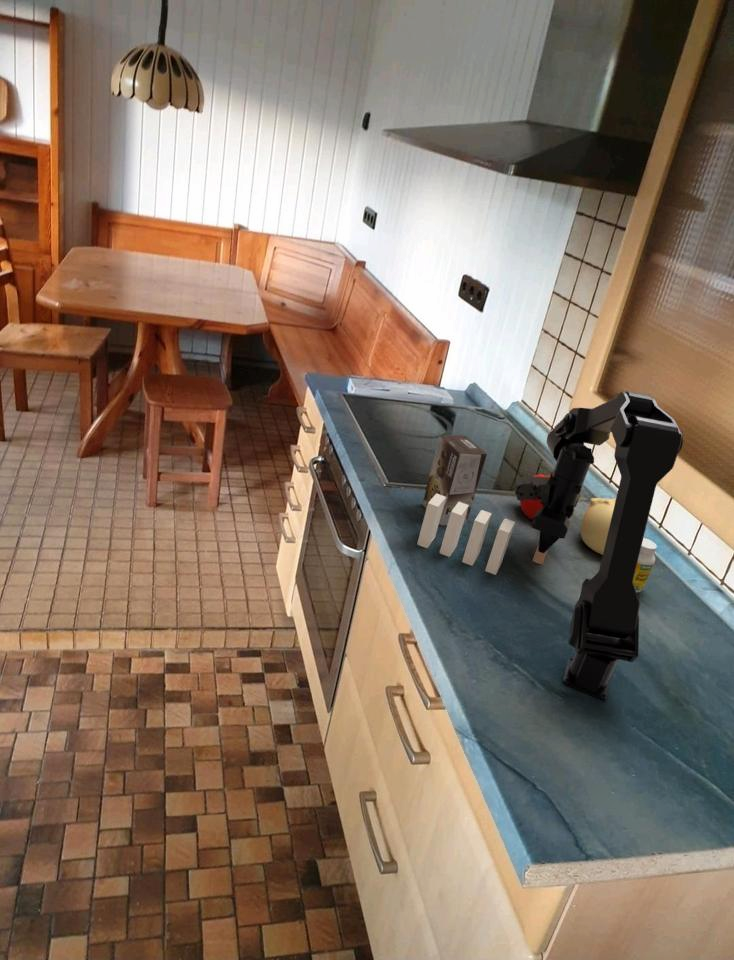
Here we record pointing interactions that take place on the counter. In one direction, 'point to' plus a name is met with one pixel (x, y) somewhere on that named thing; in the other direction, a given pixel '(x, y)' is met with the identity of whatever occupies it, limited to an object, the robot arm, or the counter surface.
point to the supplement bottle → (644, 564)
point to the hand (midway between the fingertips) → (543, 546)
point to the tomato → (532, 503)
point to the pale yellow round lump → (597, 523)
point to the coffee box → (455, 473)
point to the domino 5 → (539, 556)
